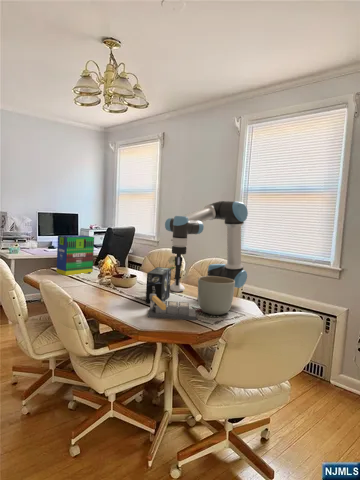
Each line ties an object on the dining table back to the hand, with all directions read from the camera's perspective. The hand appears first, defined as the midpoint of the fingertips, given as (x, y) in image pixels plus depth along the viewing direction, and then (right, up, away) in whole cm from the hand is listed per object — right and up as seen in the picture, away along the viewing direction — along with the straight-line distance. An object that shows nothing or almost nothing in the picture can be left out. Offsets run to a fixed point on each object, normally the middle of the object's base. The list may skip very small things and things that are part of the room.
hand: (176, 291), depth 178 cm
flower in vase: (-1, -10, +64) cm, 65 cm away
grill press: (-3, -14, +8) cm, 16 cm away
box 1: (-85, -1, +103) cm, 134 cm away
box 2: (-12, -11, +36) cm, 40 cm away
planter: (+21, -15, +18) cm, 32 cm away
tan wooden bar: (-10, -6, -2) cm, 12 cm away
